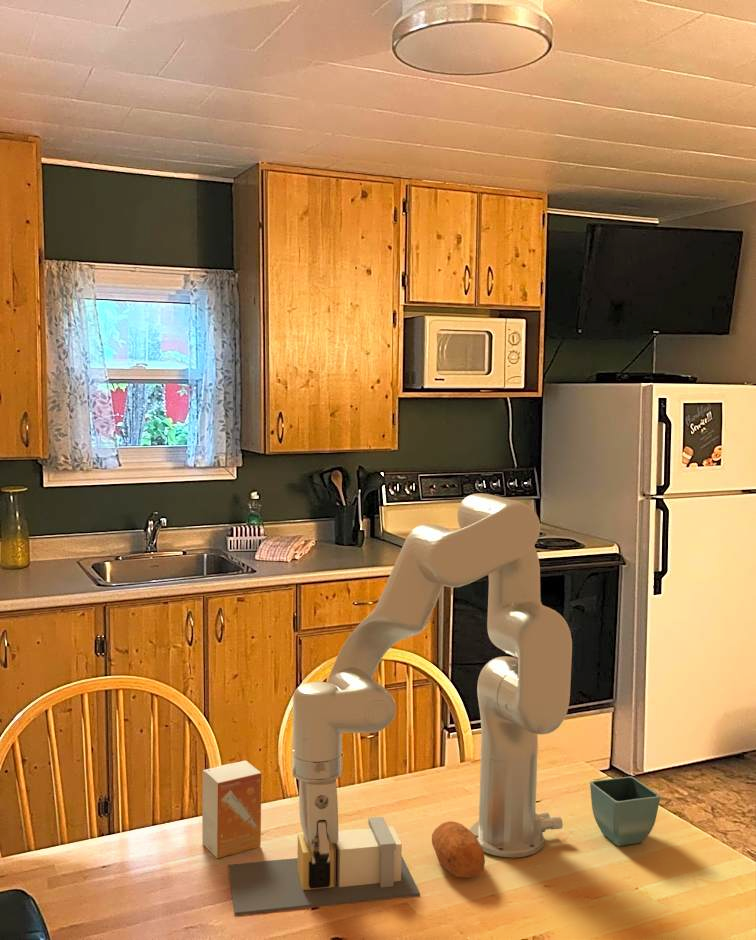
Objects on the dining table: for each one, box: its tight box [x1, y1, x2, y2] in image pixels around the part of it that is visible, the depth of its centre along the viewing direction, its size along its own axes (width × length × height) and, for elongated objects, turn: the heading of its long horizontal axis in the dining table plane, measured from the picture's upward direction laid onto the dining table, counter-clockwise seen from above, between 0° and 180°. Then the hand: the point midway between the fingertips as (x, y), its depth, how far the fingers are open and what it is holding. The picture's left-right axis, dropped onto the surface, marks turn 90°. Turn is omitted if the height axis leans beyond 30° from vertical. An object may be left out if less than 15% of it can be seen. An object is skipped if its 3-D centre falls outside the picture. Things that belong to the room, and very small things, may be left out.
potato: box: [431, 821, 486, 878], centre depth 155 cm, size 7×13×7 cm, turn 11°
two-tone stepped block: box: [334, 816, 403, 887], centre depth 152 cm, size 10×9×7 cm
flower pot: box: [589, 775, 661, 847], centre depth 165 cm, size 9×9×9 cm
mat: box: [228, 854, 421, 916], centre depth 150 cm, size 28×14×1 cm, turn 102°
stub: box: [297, 833, 336, 890], centre depth 150 cm, size 5×6×6 cm
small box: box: [201, 760, 262, 859], centre depth 161 cm, size 8×6×13 cm
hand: (316, 874), depth 150 cm, fingers closed on stub, 6 cm apart
